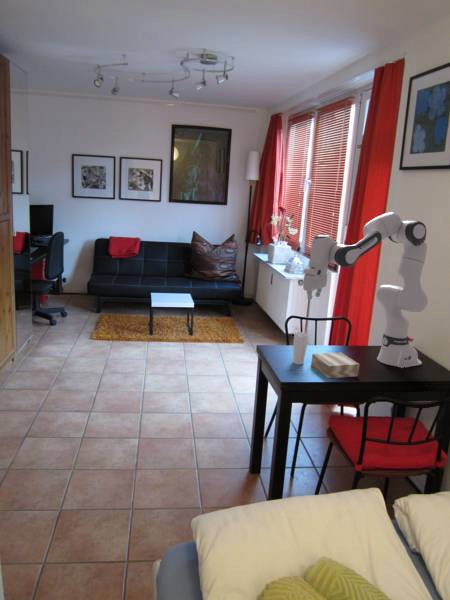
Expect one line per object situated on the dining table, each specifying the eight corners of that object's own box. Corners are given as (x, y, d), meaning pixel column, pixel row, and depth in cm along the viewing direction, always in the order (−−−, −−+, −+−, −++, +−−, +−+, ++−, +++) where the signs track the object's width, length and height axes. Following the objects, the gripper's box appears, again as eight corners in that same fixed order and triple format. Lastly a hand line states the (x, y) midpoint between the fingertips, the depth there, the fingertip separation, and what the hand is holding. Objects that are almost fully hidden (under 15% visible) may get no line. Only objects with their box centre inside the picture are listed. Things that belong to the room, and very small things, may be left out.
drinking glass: (304, 366, 245) (308, 336, 242) (290, 364, 246) (293, 335, 243) (305, 361, 252) (308, 332, 248) (291, 359, 253) (294, 331, 249)
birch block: (339, 363, 252) (341, 352, 251) (357, 376, 238) (359, 364, 236) (311, 365, 247) (312, 353, 246) (327, 378, 232) (329, 366, 231)
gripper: (319, 266, 250) (315, 294, 253) (302, 269, 233) (298, 299, 236) (331, 268, 246) (327, 296, 249) (315, 272, 229) (311, 302, 232)
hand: (313, 297), depth 242 cm, fingers open, 8 cm apart
